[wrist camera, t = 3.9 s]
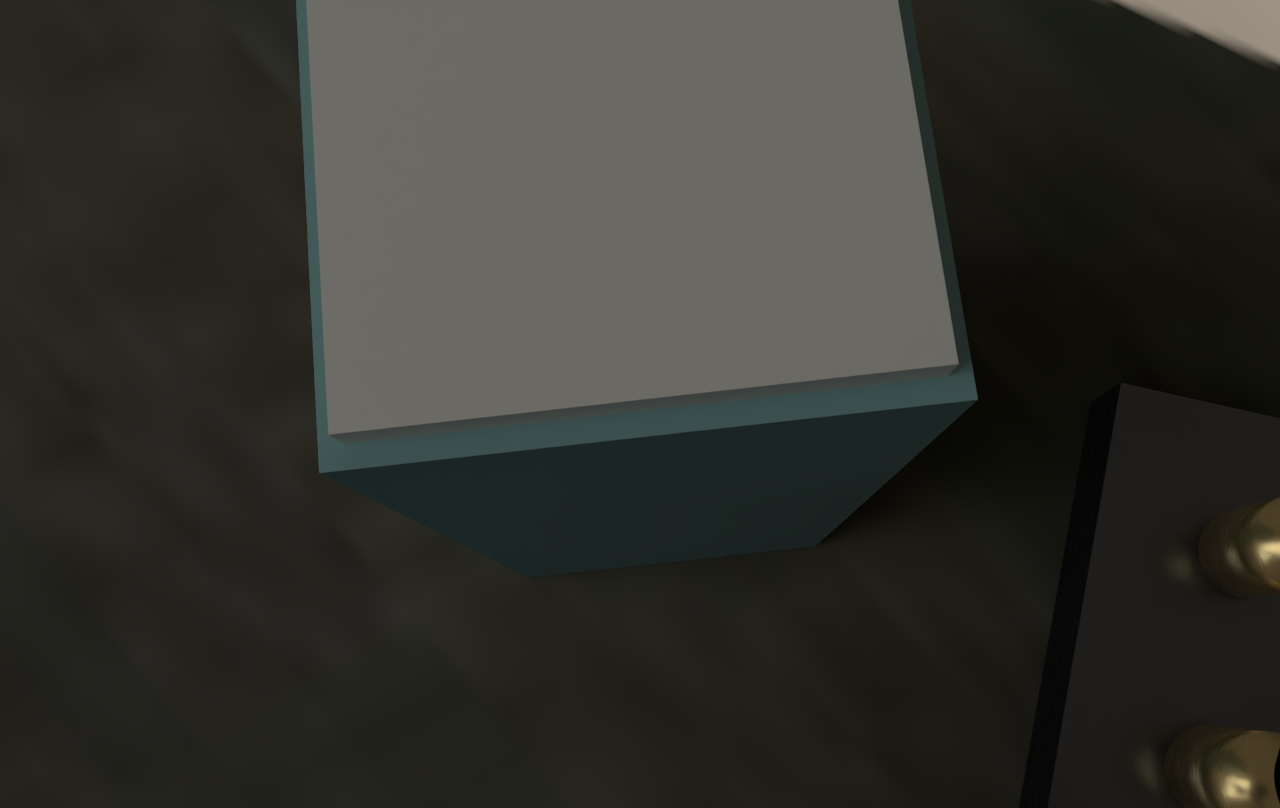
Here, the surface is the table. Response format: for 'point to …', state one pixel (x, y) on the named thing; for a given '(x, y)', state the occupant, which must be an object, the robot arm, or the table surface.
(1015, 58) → the table surface
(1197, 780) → the chassis
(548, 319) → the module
